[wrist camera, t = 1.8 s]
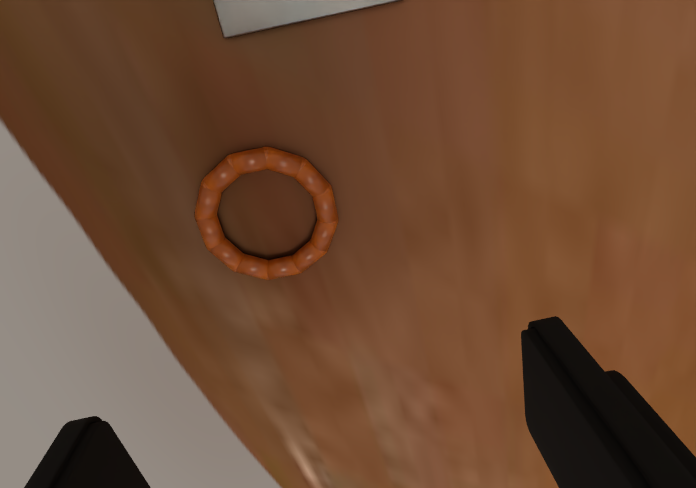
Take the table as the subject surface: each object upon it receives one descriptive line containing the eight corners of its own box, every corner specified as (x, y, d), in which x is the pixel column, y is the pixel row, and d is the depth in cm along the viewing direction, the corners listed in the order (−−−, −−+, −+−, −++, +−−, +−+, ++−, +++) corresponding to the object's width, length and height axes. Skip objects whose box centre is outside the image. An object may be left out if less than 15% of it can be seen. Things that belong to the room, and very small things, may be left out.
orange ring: (223, 283, 28) (220, 293, 27) (178, 162, 25) (172, 168, 24) (347, 257, 28) (348, 267, 27) (320, 132, 24) (320, 137, 23)
